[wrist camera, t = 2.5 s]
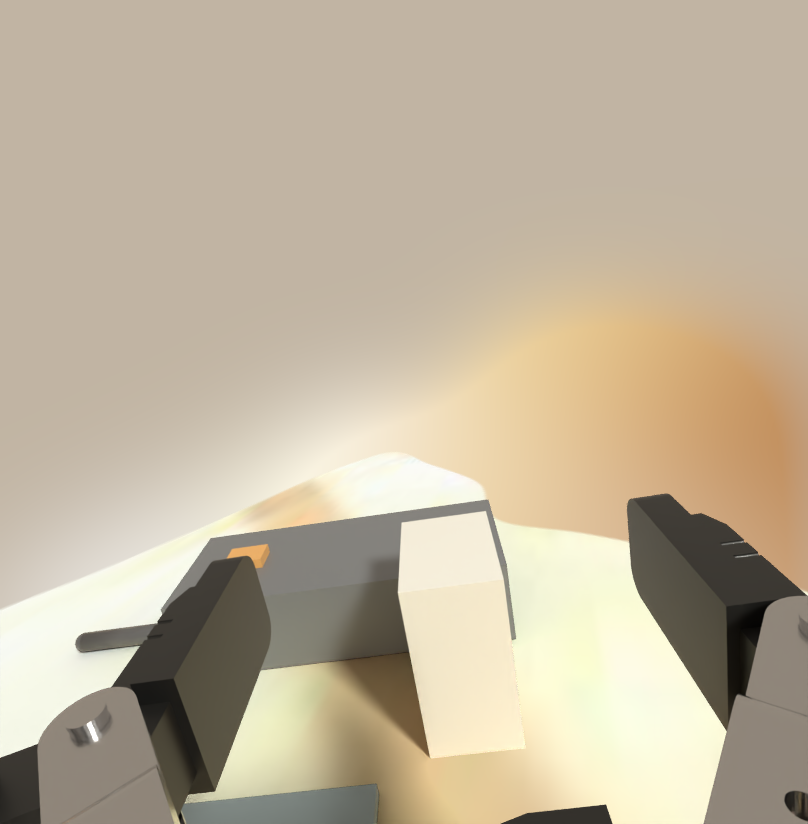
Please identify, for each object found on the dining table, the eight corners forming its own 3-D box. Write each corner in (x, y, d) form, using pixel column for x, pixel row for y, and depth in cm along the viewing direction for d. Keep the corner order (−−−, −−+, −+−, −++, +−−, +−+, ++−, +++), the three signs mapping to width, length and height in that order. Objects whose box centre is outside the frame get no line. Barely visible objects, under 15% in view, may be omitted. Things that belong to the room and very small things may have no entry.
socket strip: (41, 696, 33) (7, 620, 32) (111, 612, 41) (87, 548, 39) (516, 638, 31) (505, 554, 30) (496, 561, 39) (487, 491, 37)
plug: (430, 758, 25) (397, 592, 23) (426, 627, 34) (402, 497, 31) (525, 748, 25) (503, 579, 22) (497, 618, 33) (479, 486, 31)
